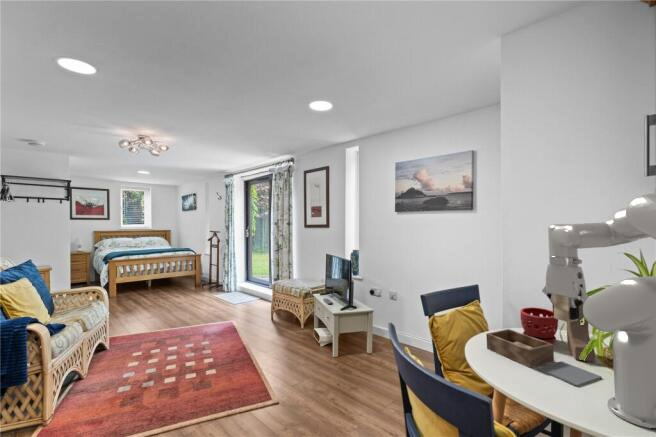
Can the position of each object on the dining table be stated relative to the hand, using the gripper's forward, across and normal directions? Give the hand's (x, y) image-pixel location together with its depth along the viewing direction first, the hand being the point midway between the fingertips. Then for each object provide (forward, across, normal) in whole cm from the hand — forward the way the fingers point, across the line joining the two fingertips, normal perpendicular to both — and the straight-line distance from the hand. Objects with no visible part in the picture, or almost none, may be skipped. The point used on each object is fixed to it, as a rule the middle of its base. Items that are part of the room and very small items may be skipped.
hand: (565, 316), depth 103 cm
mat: (+19, 0, 0) cm, 19 cm away
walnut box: (+19, +17, +1) cm, 25 cm away
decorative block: (+19, +7, -18) cm, 27 cm away
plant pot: (+19, +23, -19) cm, 35 cm away
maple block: (+1, 0, 0) cm, 1 cm away
